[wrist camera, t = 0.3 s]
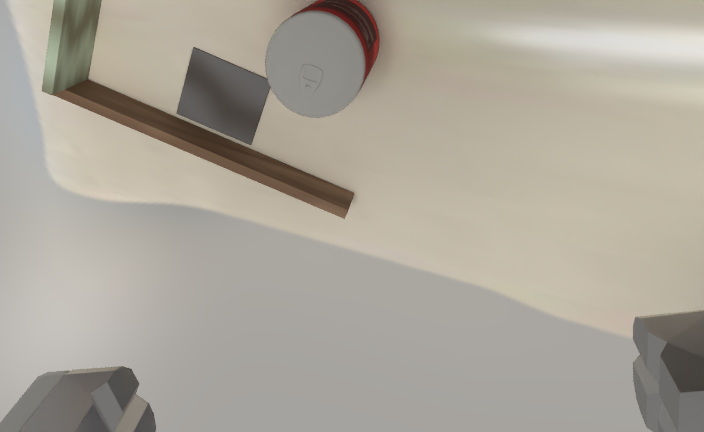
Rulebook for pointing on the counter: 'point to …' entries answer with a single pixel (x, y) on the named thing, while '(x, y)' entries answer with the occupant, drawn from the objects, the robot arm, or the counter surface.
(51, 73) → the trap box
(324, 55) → the canned food
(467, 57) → the counter surface
